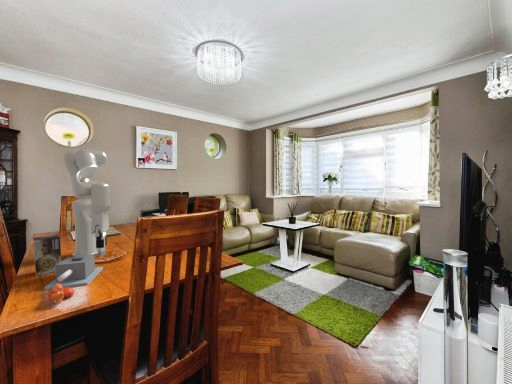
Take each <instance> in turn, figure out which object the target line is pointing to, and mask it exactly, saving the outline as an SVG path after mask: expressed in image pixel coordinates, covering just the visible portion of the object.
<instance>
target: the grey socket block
mask: <svg viewBox="0 0 512 384" xmlns="http://www.w3.org/2000/svg"><path fill="white" fill-rule="evenodd" d="M95 260H96V259H95V255H89V256H77V257H73V256H68V257H66V258H65V259H62V261H61V262H60V263H58V264H56V272H55V279H54V280H52V281H51V282H50V283H48V284H47V285H46V286H44V290H45V291H47V290H52V288H54V287H55V285H56V284H62V287H63V289H64V288H68V287H70V288H73V287H80V286H81V287H82V286H88V285H89V284H90V283H91V282H92V281H93V280H94V279H95V278H96V277H97V276H98V275H99V273H101V271H102V270H103V269H104V266H97V267H96V265H95V263H96V262H95Z"/></svg>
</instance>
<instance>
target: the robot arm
mask: <svg viewBox="0 0 512 384" xmlns="http://www.w3.org/2000/svg"><path fill="white" fill-rule="evenodd" d="M63 162H64V165H65V167H66V169H67V173H69V176H70V179H71V180H70V181H71V187H72V192H73V195H74V196H75V198H79V199H76V200H74V201H73V202H72V204H71V209H72V214H73V220H74V235H75V236H74V237H75V238H74V239H75V241H74V242H75V251H74V252H73V253H72V255H71V257H77V256H89V255H94V256H95V255H98V248H103V247H104V239H103V233H104V232H105V246H107V245H108V244H107V243H108V241H107V240H108V239H107V231H108V230H109V229H110V218H109V213H110V212H111V197H110V194H111V191H110V184H108V183H106V182H103V181H98V180H97V181H92V180H90V179H91V178H93V177H95V176H97V175H98V173H99V171H100V168H99V167H103V166H105V165H107V163H108V156H107V154H106V153H105V152H104V151H103V150H99V149H86V148H84V149H83V148H81V149H78V150H70V151H66V152H65V153H64V154H63ZM99 232H101V233H99Z"/></svg>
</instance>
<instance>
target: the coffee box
mask: <svg viewBox="0 0 512 384" xmlns="http://www.w3.org/2000/svg"><path fill="white" fill-rule="evenodd" d="M32 241H33V255H34V269H35V271H34V273H35V277H37V276H42V275H46V274H51V273H56V264H58V263H60V262H61V261H63V259H62V245H61V236H60V234H52V235H51V234H50V235H43V236H37V237H33V239H32Z"/></svg>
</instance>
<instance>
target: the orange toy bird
mask: <svg viewBox="0 0 512 384" xmlns="http://www.w3.org/2000/svg"><path fill="white" fill-rule="evenodd" d="M74 294H75V289H74V288H73V287H65V288H63V287H62V284H56V285H55V287H54V288H52V289H50V291H49V292H48V294H47V300H48V301H49V302H51V303H52V304H53V305H54V304H59V305H60V304H61V303H62V300H63V299H64V298H70V297H73V295H74Z"/></svg>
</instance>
